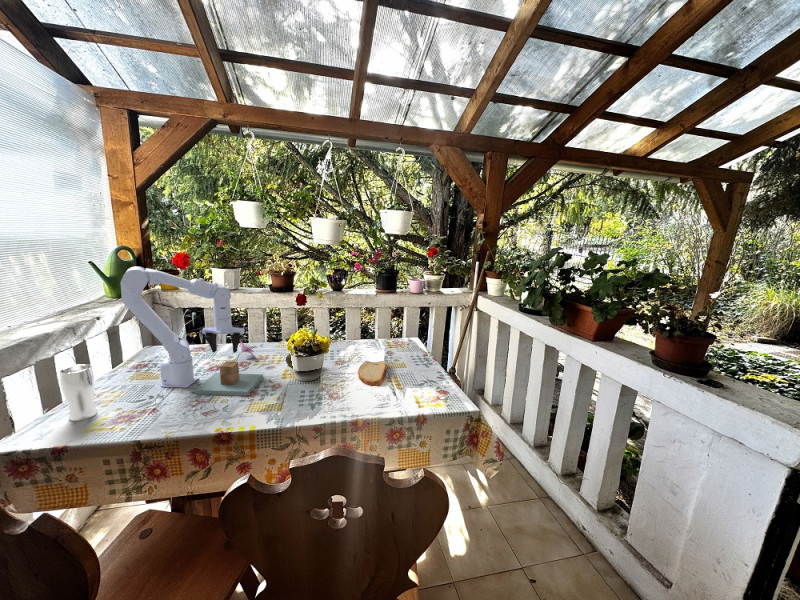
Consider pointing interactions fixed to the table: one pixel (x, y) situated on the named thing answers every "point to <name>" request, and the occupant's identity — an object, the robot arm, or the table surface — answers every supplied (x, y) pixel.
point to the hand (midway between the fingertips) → (224, 351)
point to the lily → (245, 349)
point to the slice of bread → (372, 373)
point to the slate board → (239, 388)
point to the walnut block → (229, 373)
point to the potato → (289, 361)
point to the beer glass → (79, 391)
